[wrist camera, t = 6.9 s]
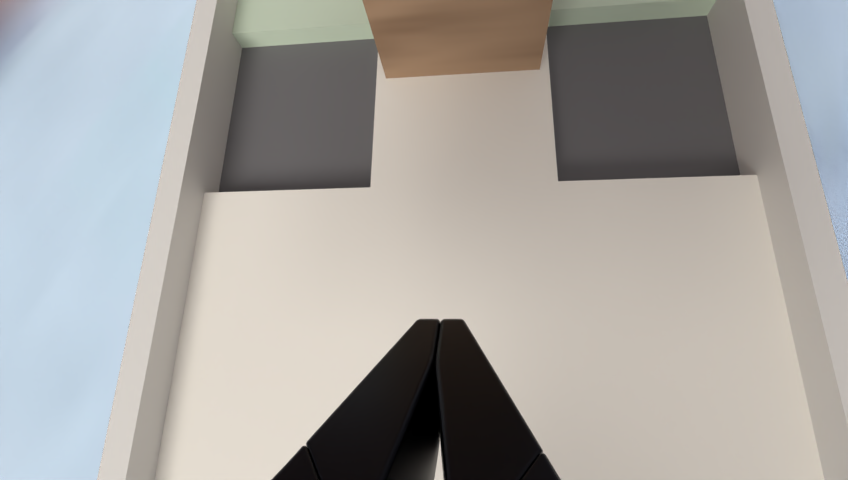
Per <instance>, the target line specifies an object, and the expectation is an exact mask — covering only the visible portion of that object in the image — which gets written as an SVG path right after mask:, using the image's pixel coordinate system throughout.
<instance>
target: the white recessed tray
mask: <svg viewBox="0 0 848 480" xmlns="http://www.w3.org/2000/svg"><path fill="white" fill-rule="evenodd" d="M418 319H438V320H439V321H440V322H441V320H443V319H463V320H464V321H465V322H466V324H467V326H468V327H469V329H470V331H471V332H472V334H473V336H474V337H475V339H476V341H477V342H478V344H479V346H480V347H481V349H482V351H483V352H484V354H485V355H486V357H487V359H488V360H489V362H490V364H491V365H492V367H493V369H494V370H495V372H496V374H497V375H498V377H499V379H500V380H501V382H502V384H503V385H504V387H505V389H506V390H507V392H508V393H509V395H510V397H511V398H512V400H513V402H514V403H515V405H516V407H517V408H518V410H519V412H520V413H521V415H522V417H523V418H524V420H525V422H526V423H527V425H528V427H529V428H530V430H531V432H532V433H533V435H534V436H535V438H536V440H537V441H538V443H539V445H540V446H541V448H542V450H543V453H544V454H545V455H546V456H547V457H548V459H549V461H550V462H551V464H552V466H553V467H554V469H555V471H556V472H557V474H558V476H559V477H560V479H561V480H848V281H847V278H846V274H845V270H844V266H843V263H842V259H841V255H840V251H839V248H838V244H837V240H836V236H835V233H834V229H833V225H832V221H831V218H830V214H829V210H828V206H827V203H826V199H825V195H824V191H823V188H822V184H821V180H820V176H819V173H818V169H817V165H816V161H815V157H814V154H813V150H812V146H811V142H810V139H809V135H808V131H807V127H806V124H805V120H804V116H803V112H802V109H801V105H800V101H799V97H798V94H797V90H796V86H795V82H794V79H793V75H792V71H791V67H790V64H789V60H788V56H787V52H786V49H785V45H784V41H783V37H782V34H781V30H780V26H779V22H778V19H777V15H776V11H775V7H774V4H773V0H553V2H552V7H551V13H550V18H549V23H548V28H547V34H546V39H545V44H544V49H543V55H542V60H541V65H540V70H522V71H505V72H488V73H471V74H454V75H437V76H420V77H403V78H386V77H385V73H384V70H383V67H382V63H381V60H380V57H379V53H378V50H377V47H376V44H375V40H374V37H373V34H372V30H371V27H370V24H369V20H368V17H367V14H366V11H365V7H364V4H363V1H362V0H197V1H196V6H195V11H194V16H193V21H192V25H191V30H190V35H189V40H188V45H187V50H186V54H185V59H184V64H183V69H182V74H181V78H180V83H179V88H178V93H177V98H176V102H175V107H174V112H173V117H172V122H171V127H170V131H169V136H168V141H167V146H166V151H165V155H164V160H163V165H162V170H161V175H160V179H159V184H158V189H157V194H156V199H155V204H154V208H153V213H152V218H151V223H150V228H149V232H148V237H147V242H146V247H145V252H144V257H143V261H142V266H141V271H140V276H139V281H138V285H137V290H136V295H135V300H134V305H133V309H132V314H131V319H130V324H129V329H128V334H127V338H126V343H125V348H124V353H123V358H122V362H121V367H120V372H119V377H118V382H117V387H116V391H115V396H114V401H113V406H112V411H111V415H110V420H109V425H108V430H107V435H106V439H105V444H104V449H103V454H102V459H101V464H100V468H99V473H98V478H97V480H271V479H272V478H273V477H274V476H275V475H276V474H277V473H278V472H279V471H280V470H281V469H282V468H283V467H284V466H285V465H286V464H287V463H288V461H289V460H290V459H291V458H292V457H293V456H294V455H295V454H296V453H297V451H298V450H299V449H300V448H301V447H302V446H306V442H307V441H308V440H309V439H310V437H311V436H312V435H313V434H314V433H315V432H316V431H317V430H318V429H319V427H320V426H321V425H322V424H323V423H324V422H325V421H326V420H327V419H328V418H329V416H330V415H331V414H332V413H333V412H334V411H335V410H336V409H337V408H338V406H339V405H340V404H341V403H342V402H343V401H344V400H345V399H346V398H347V397H348V395H349V394H350V393H351V392H352V391H353V390H354V389H355V388H356V387H357V386H358V384H359V383H360V382H361V381H362V380H363V379H364V378H365V377H366V376H367V374H368V373H369V372H370V371H371V370H372V369H373V368H374V367H375V366H376V365H377V363H378V362H379V361H380V360H381V359H382V358H383V357H384V356H385V355H386V353H387V352H388V351H389V350H390V349H391V348H392V347H393V346H394V345H395V344H396V342H397V341H398V340H399V339H400V338H401V337H402V336H403V335H404V334H405V332H406V331H407V330H408V329H409V328H410V327H411V326H412V325H413V324H414V323H415V321H416V320H418ZM434 480H443V469H442V457H441V444H439V452H438V459H437V465H436V471H435V477H434Z"/></svg>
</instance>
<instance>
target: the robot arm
mask: <svg viewBox="0 0 848 480" xmlns="http://www.w3.org/2000/svg"><path fill="white" fill-rule="evenodd" d="M439 444H441V457H442V469H443V480H561V479H560V477H559V476H558V474H557V472H556V471H555V469H554V467H553V466H552V464H551V462H550V461H549V459H548V457H547V456H546V455H545V454H544V453H543V450H542V448H541V446H540V445H539V443H538V441H537V440H536V438H535V436H534V435H533V433H532V432H531V430H530V428H529V427H528V425H527V423H526V422H525V420H524V418H523V417H522V415H521V413H520V412H519V410H518V408H517V407H516V405H515V403H514V402H513V400H512V398H511V397H510V395H509V393H508V392H507V390H506V389H505V387H504V385H503V384H502V382H501V380H500V379H499V377H498V375H497V374H496V372H495V370H494V369H493V367H492V365H491V364H490V362H489V360H488V359H487V357H486V355H485V354H484V352H483V351H482V349H481V347H480V346H479V344H478V342H477V341H476V339H475V337H474V336H473V334H472V332H471V331H470V329H469V327H468V326H467V324H466V322H465V321H464V320H463V319H443V320H441V322H440V321H439V320H438V319H418V320H416V321H415V323H414V324H413V325H412V326H411V327H410V328H409V329H408V330H407V331H406V332H405V334H404V335H403V336H402V337H401V338H400V339H399V340H398V341H397V342H396V344H395V345H394V346H393V347H392V348H391V349H390V350H389V351H388V352H387V353H386V355H385V356H384V357H383V358H382V359H381V360H380V361H379V362H378V363H377V365H376V366H375V367H374V368H373V369H372V370H371V371H370V372H369V373H368V374H367V376H366V377H365V378H364V379H363V380H362V381H361V382H360V383H359V384H358V386H357V387H356V388H355V389H354V390H353V391H352V392H351V393H350V394H349V395H348V397H347V398H346V399H345V400H344V401H343V402H342V403H341V404H340V405H339V406H338V408H337V409H336V410H335V411H334V412H333V413H332V414H331V415H330V416H329V418H328V419H327V420H326V421H325V422H324V423H323V424H322V425H321V426H320V427H319V429H318V430H317V431H316V432H315V433H314V434H313V435H312V436H311V437H310V439H309V440H308V441H307V442H306V446H302V447H301V448H300V449H299V450H298V451H297V453H296V454H295V455H294V456H293V457H292V458H291V459H290V460H289V461H288V463H287V464H286V465H285V466H284V467H283V468H282V469H281V470H280V471H279V472H278V473H277V474H276V475H275V476H274V477H273V478H272V479H271V480H434V477H435V471H436V465H437V459H438V452H439Z"/></svg>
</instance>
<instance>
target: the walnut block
mask: <svg viewBox="0 0 848 480" xmlns="http://www.w3.org/2000/svg"><path fill="white" fill-rule="evenodd" d="M362 1H363V4H364V7H365V11H366V14H367V17H368V20H369V24H370V27H371V30H372V34H373V37H374V40H375V44H376V47H377V50H378V53H379V57H380V60H381V63H382V67H383V70H384V73H385V77H386V78H403V77H420V76H437V75H454V74H471V73H488V72H505V71H522V70H540V65H541V60H542V55H543V49H544V44H545V39H546V34H547V28H548V23H549V18H550V13H551V7H552V2H553V0H362Z"/></svg>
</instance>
